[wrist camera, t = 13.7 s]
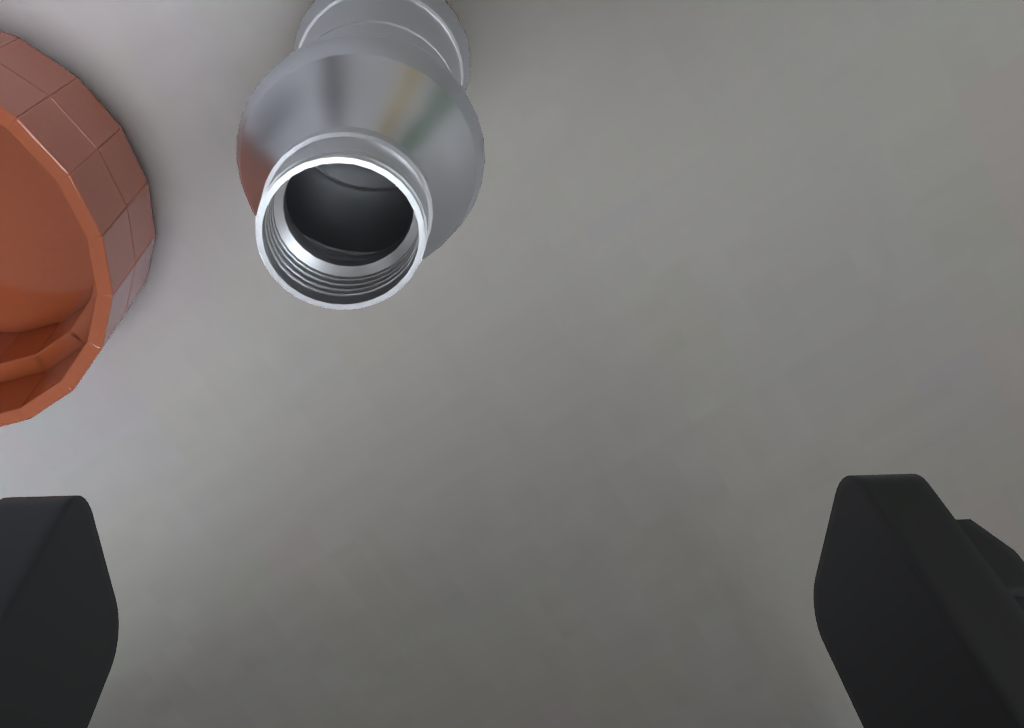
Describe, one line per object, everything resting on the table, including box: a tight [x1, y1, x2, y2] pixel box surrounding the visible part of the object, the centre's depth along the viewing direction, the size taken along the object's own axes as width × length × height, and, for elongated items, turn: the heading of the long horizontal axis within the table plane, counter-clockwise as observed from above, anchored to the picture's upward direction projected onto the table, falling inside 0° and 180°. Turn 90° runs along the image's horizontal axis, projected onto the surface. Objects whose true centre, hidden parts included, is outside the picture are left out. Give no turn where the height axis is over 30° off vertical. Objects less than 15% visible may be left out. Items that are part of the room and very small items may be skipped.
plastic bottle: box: [237, 0, 485, 310], centre depth 28 cm, size 6×7×20 cm
